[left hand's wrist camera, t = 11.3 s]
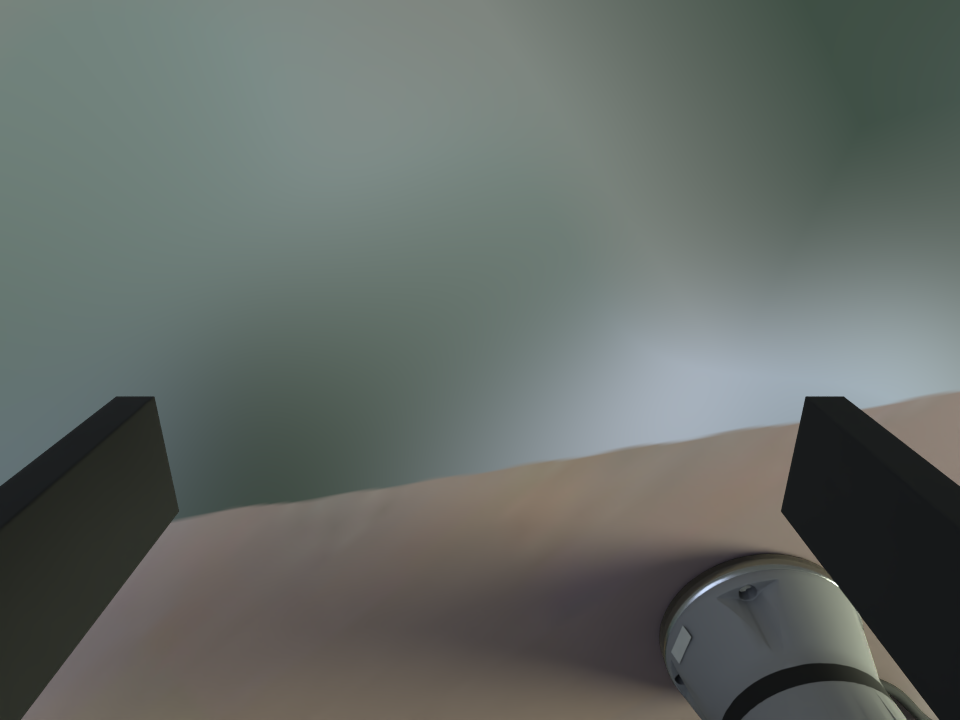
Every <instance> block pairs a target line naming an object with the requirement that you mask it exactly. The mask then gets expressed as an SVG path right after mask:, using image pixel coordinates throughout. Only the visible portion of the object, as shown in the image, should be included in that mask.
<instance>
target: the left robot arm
mask: <svg viewBox="0 0 960 720" xmlns="http://www.w3.org/2000/svg"><path fill="white" fill-rule="evenodd" d="M178 512H179V509H178V504H177V500H176V495H175V490H174V486H173V481H172V476H171V472H170V467H169V463H168V458H167V453H166V449H165V444H164V439H163V435H162V430H161V425H160V421H159V416H158V411H157V407H156V402H155V397H115V398H114V399H113V400H111V401H110V402H109V403H107V404H106V405H105V406H103V407H102V408H101V409H100V410H98V411H97V412H96V413H94V414H93V415H92V416H91V417H89V418H88V419H87V420H85V421H84V422H83V423H82V424H80V425H79V426H78V427H76V428H75V429H74V430H73V431H71V432H70V433H69V434H67V435H66V436H65V437H63V438H62V439H61V440H60V441H58V442H57V443H56V444H54V445H53V446H52V447H51V448H49V449H48V450H47V451H45V452H44V453H43V454H41V455H40V456H39V457H38V458H36V459H35V460H34V461H32V462H31V463H30V464H29V465H27V466H26V467H25V468H23V469H22V470H21V471H20V472H18V473H17V474H16V475H14V476H13V477H12V478H10V479H9V480H8V481H7V482H5V483H4V484H3V485H1V486H0V720H21V719H22V717H23V716H24V715H25V713H26V712H27V711H28V709H29V708H30V707H31V705H32V704H33V703H34V701H35V700H36V699H37V698H38V696H39V695H40V694H41V692H42V691H43V690H44V688H45V687H46V686H47V684H48V683H49V682H50V680H51V679H52V678H53V676H54V675H55V674H56V673H57V671H58V670H59V669H60V667H61V666H62V665H63V663H64V662H65V661H66V659H67V658H68V657H69V655H70V654H71V653H72V651H73V650H74V649H75V648H76V646H77V645H78V644H79V642H80V641H81V640H82V638H83V637H84V636H85V634H86V633H87V632H88V630H89V629H90V628H91V626H92V625H93V624H94V623H95V621H96V620H97V619H98V617H99V616H100V615H101V613H102V612H103V611H104V609H105V608H106V607H107V605H108V604H109V603H110V601H111V600H112V599H113V598H114V596H115V595H116V594H117V592H118V591H119V590H120V588H121V587H122V586H123V584H124V583H125V582H126V580H127V579H128V578H129V576H130V575H131V574H132V573H133V571H134V570H135V569H136V567H137V566H138V565H139V563H140V562H141V561H142V559H143V558H144V557H145V555H146V554H147V553H148V551H149V550H150V549H151V548H152V546H153V545H154V544H155V542H156V541H157V540H158V538H159V537H160V536H161V534H162V533H163V532H164V530H165V529H166V528H167V526H168V525H169V524H170V523H171V521H172V520H173V519H174V517H175V516H176V515H177V513H178ZM781 512H782V513H783V515H784V516H785V517H786V519H787V520H788V521H789V523H790V524H791V525H792V526H793V528H794V529H795V530H796V532H797V533H798V534H799V536H800V537H801V538H802V540H803V541H804V542H805V544H806V545H807V546H808V548H809V549H810V550H811V551H812V553H813V554H814V555H815V557H816V558H817V559H818V561H819V562H820V563H821V565H822V566H823V567H824V568H822V567H820V566H819V565H817V564H815V563H813V562H810V561H808V560H805V559H802V558H799V557H794V556H789V555H782V554H759V555H751V556H745V557H740V558H737V559H733V560H730V561H727V562H724V563H722V564H719V565H717V566H715V567H713V568H711V569H709V570H707V571H705V572H703V573H702V574H700V575H699V576H697V577H696V578H694V579H693V580H692V581H690V582H689V583H688V584H687V585H686V586H685V587H684V588H683V589H682V590H681V591H680V592H679V593H678V594H677V595H676V596H675V598H674V599H673V600H672V602H671V603H670V605H669V607H668V608H667V610H666V612H665V614H664V617H663V620H662V623H661V627H660V635H659V639H660V648H661V652H662V656H663V659H664V662H665V665H666V667H667V670H668V673H669V675H670V678H671V680H672V681H673V683H674V684H675V686H676V687H677V689H678V690H679V691H680V693H681V694H682V695H683V696H684V698H685V699H686V700H687V701H688V702H689V704H690V705H691V707H692V708H693V709H694V710H695V712H696V713H697V714H698V715H699V717H700V718H701V719H702V720H907V719H906V718H905V716H904V715H903V714H902V712H901V711H900V709H899V708H898V707H897V705H896V704H895V703H894V701H893V700H892V698H891V697H890V696H889V694H890V695H891V696H893V697H894V698H895V699H897V700H898V701H899V702H900V703H901V704H902V705H903V706H904V707H905V708H906V709H907V710H908V711H909V713H910V714H911V715H912V716H913V717H914V718H915V719H916V720H931V719H930V718H929V717H927V716H926V715H925V714H924V713H923V712H922V711H921V710H920V709H919V708H918V707H917V706H916V705H915V704H914V702H913V701H912V700H911V699H910V698H909V697H908V696H907V695H906V694H905V693H904V692H902V691H901V690H900V689H898V688H897V687H895V686H894V685H892V684H890V683H888V682H886V681H884V680H881V679H879V677H878V674H877V671H876V668H875V664H874V661H873V658H872V655H871V652H870V649H869V646H868V643H867V640H866V637H865V634H864V630H863V624H862V620H861V617H862V619H863V620H864V621H865V623H866V624H867V625H868V626H869V628H870V629H871V630H872V632H873V633H874V634H875V636H876V637H877V638H878V640H879V641H880V642H881V644H882V645H883V646H884V648H885V649H886V650H887V651H888V653H889V654H890V655H891V657H892V658H893V659H894V661H895V662H896V663H897V665H898V666H899V667H900V669H901V670H902V671H903V673H904V674H905V675H906V676H907V678H908V679H909V680H910V682H911V683H912V684H913V686H914V687H915V688H916V690H917V691H918V692H919V694H920V695H921V696H922V698H923V699H924V700H925V701H926V703H927V704H928V705H929V707H930V708H931V709H932V711H933V712H934V713H935V715H936V716H937V717H938V719H939V720H960V486H959V485H957V484H956V483H955V482H953V481H952V480H951V479H950V478H948V477H947V476H946V475H944V474H943V473H942V472H941V471H939V470H938V469H937V468H935V467H934V466H933V465H931V464H930V463H929V462H928V461H926V460H925V459H924V458H922V457H921V456H920V455H919V454H917V453H916V452H915V451H913V450H912V449H911V448H909V447H908V446H907V445H906V444H904V443H903V442H902V441H900V440H899V439H898V438H897V437H895V436H894V435H893V434H891V433H890V432H889V431H888V430H886V429H885V428H884V427H882V426H881V425H880V424H878V423H877V422H876V421H875V420H873V419H872V418H871V417H869V416H868V415H867V414H866V413H864V412H863V411H862V410H860V409H859V408H858V407H857V406H855V405H854V404H853V403H851V402H850V401H849V400H847V399H846V398H845V397H805V402H804V407H803V411H802V416H801V421H800V425H799V430H798V435H797V439H796V444H795V448H794V453H793V458H792V462H791V467H790V472H789V476H788V481H787V486H786V490H785V495H784V500H783V504H782V509H781ZM860 616H861V617H860Z"/></svg>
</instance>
